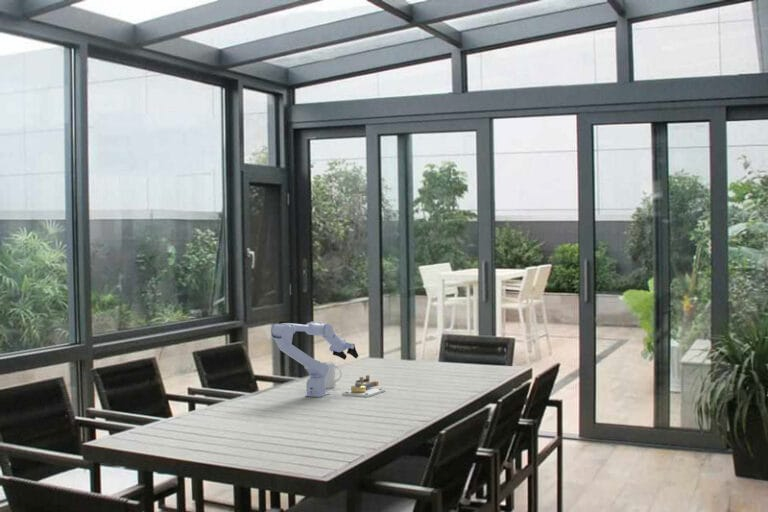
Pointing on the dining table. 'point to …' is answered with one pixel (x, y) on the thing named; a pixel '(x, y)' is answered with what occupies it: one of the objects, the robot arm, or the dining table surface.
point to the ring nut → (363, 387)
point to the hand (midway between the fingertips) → (351, 357)
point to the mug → (331, 375)
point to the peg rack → (364, 380)
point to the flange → (368, 392)
